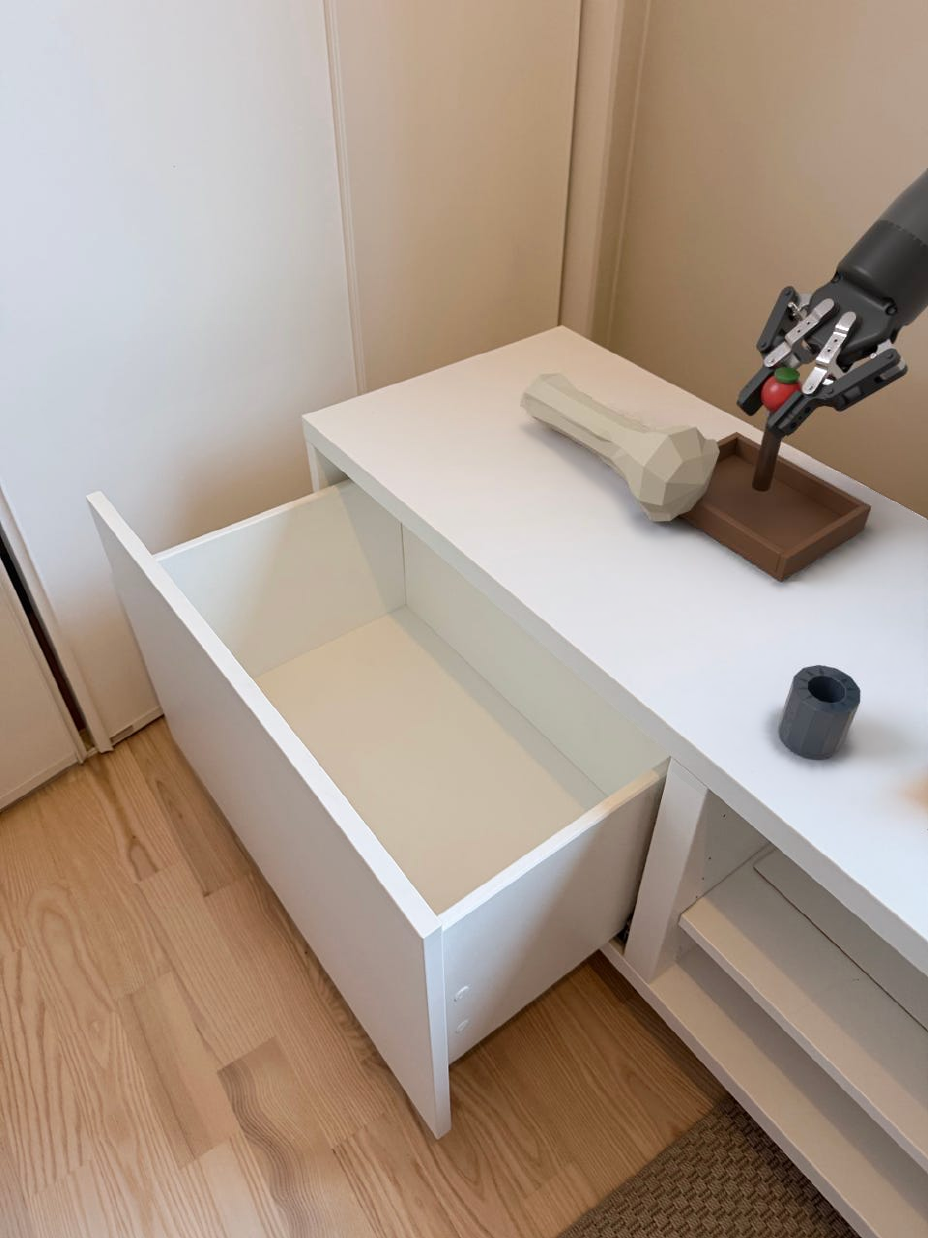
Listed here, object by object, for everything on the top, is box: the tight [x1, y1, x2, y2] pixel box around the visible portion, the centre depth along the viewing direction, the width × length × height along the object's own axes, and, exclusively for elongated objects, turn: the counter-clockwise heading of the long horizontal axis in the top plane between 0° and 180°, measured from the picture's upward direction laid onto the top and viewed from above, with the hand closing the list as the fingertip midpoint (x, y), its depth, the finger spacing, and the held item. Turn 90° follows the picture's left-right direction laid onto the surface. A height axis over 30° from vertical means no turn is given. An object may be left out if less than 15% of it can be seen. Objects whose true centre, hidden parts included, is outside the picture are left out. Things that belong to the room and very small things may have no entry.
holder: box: [777, 664, 861, 761], centre depth 65 cm, size 4×4×5 cm
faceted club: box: [519, 372, 720, 522], centre depth 89 cm, size 9×8×25 cm
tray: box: [677, 431, 872, 583], centre depth 85 cm, size 15×11×3 cm
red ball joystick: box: [752, 367, 804, 492], centre depth 80 cm, size 3×3×11 cm
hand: (758, 420), depth 78 cm, fingers closed on red ball joystick, 3 cm apart
